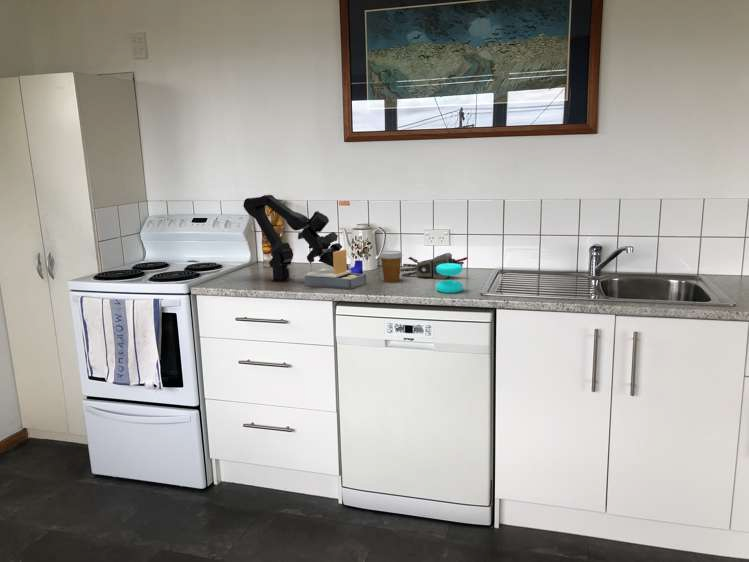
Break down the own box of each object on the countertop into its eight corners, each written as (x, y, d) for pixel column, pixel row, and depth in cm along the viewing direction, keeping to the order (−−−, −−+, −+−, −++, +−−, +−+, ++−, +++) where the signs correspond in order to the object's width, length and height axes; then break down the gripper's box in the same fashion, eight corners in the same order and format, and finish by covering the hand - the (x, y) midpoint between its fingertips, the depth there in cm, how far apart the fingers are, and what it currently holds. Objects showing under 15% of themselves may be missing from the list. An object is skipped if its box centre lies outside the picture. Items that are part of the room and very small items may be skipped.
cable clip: (354, 273, 268) (354, 260, 267) (362, 273, 266) (362, 260, 264) (338, 277, 259) (337, 264, 257) (346, 278, 256) (345, 264, 255)
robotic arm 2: (395, 258, 252) (464, 253, 241) (401, 255, 259) (468, 250, 248) (398, 282, 254) (467, 278, 242) (404, 279, 261) (471, 275, 249)
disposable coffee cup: (397, 277, 254) (397, 249, 251) (406, 281, 245) (406, 252, 242) (377, 279, 250) (376, 251, 248) (385, 283, 242) (384, 254, 239)
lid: (306, 275, 242) (305, 251, 240) (323, 270, 252) (322, 247, 250) (335, 277, 235) (334, 253, 233) (351, 272, 245) (350, 249, 243)
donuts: (451, 268, 216) (430, 265, 224) (451, 294, 218) (430, 291, 226) (468, 264, 223) (447, 261, 230) (468, 290, 225) (447, 286, 232)
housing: (305, 285, 243) (304, 275, 242) (321, 280, 253) (321, 270, 252) (351, 289, 232) (350, 279, 232) (366, 283, 243) (365, 274, 242)
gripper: (311, 228, 232) (336, 258, 229) (337, 223, 248) (360, 251, 245) (296, 247, 237) (320, 276, 234) (322, 241, 253) (345, 268, 250)
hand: (337, 267), depth 241 cm, fingers closed
